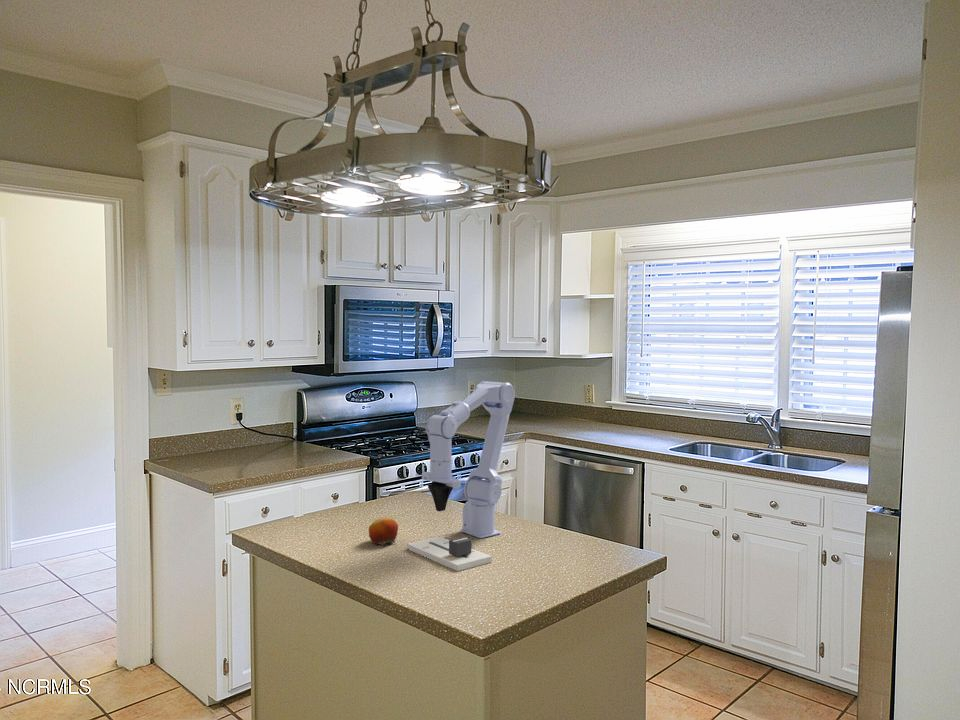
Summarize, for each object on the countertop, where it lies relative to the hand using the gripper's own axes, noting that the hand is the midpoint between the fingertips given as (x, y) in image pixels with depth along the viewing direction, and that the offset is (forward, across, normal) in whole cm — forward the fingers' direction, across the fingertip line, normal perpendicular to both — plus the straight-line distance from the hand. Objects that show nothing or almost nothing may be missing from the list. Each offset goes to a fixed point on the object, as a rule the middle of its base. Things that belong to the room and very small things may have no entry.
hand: (440, 510), depth 196 cm
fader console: (+10, +6, -2) cm, 12 cm away
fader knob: (+9, +11, -2) cm, 14 cm away
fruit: (+10, -14, -9) cm, 20 cm away
